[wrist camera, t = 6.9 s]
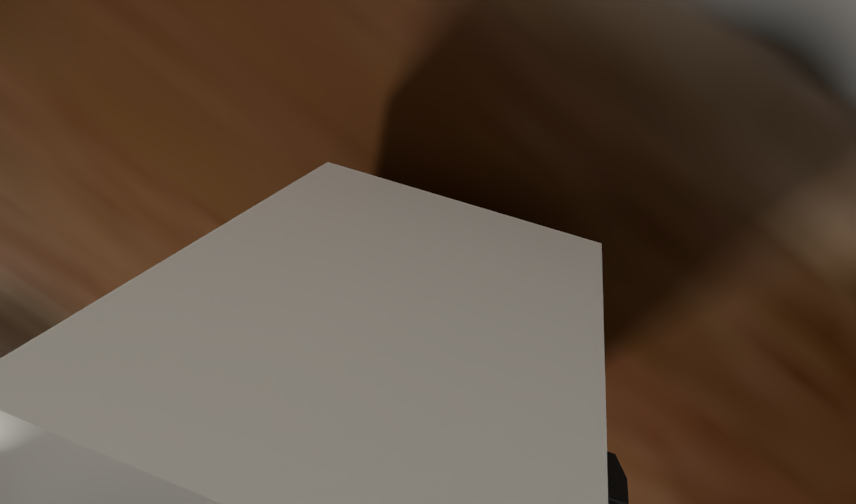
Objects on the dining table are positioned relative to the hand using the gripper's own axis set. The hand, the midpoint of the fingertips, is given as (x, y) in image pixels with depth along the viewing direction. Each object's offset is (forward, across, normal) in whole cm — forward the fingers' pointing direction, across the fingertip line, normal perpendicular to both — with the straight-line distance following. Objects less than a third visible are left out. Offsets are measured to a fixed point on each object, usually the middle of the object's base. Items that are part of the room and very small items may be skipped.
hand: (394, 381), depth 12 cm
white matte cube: (+3, 0, 0) cm, 3 cm away
